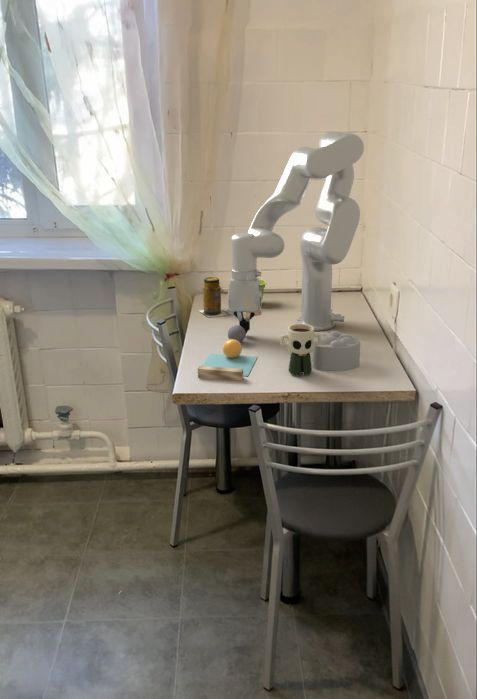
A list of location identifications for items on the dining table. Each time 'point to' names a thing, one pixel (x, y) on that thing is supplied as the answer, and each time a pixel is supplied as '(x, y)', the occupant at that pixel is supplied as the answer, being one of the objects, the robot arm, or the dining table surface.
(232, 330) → the gray ball
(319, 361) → the lumpy-topped squat cylinder
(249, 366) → the teal mark
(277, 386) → the dining table surface
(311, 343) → the character mug
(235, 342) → the orange ball
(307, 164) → the robot arm
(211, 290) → the condiment
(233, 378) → the wall
